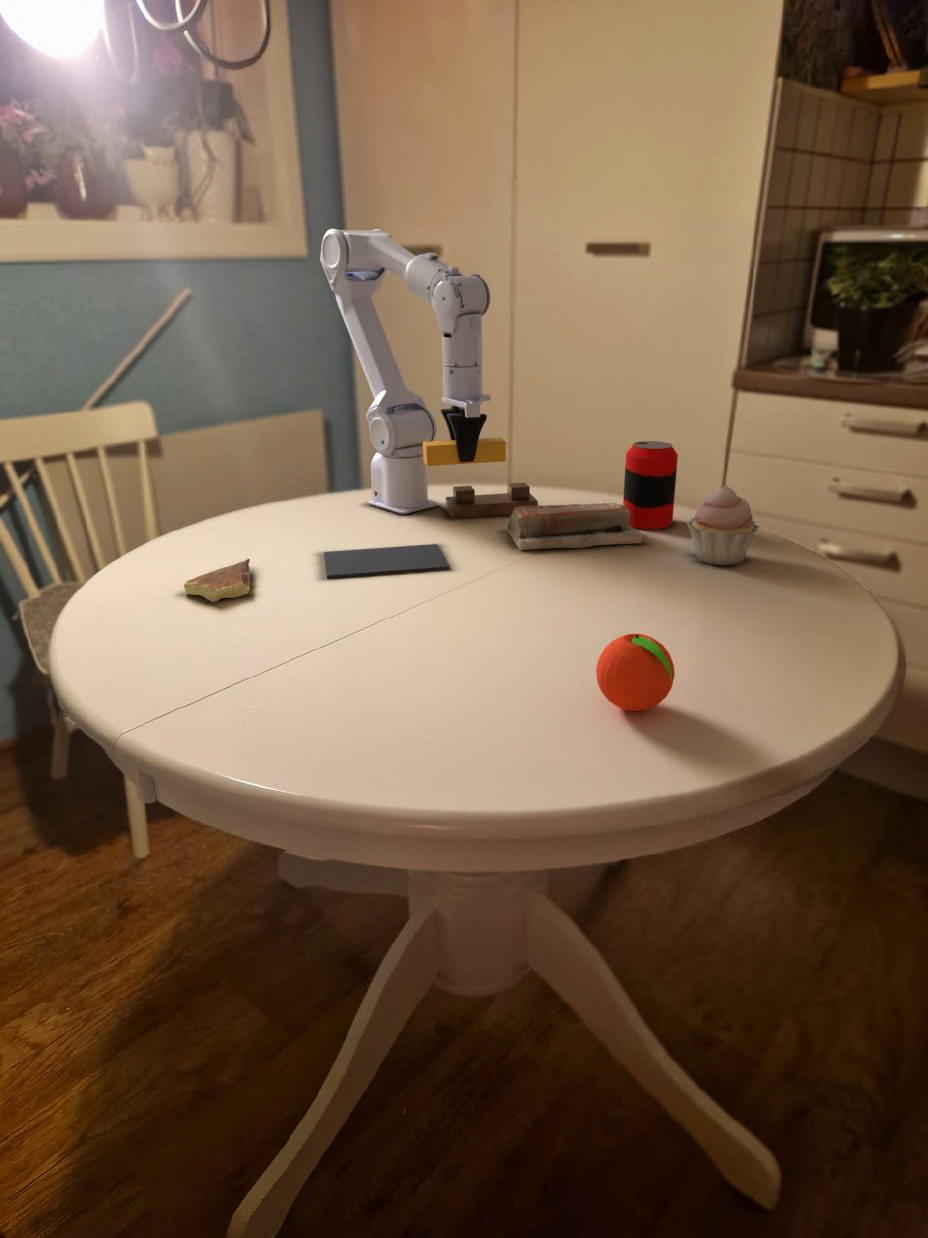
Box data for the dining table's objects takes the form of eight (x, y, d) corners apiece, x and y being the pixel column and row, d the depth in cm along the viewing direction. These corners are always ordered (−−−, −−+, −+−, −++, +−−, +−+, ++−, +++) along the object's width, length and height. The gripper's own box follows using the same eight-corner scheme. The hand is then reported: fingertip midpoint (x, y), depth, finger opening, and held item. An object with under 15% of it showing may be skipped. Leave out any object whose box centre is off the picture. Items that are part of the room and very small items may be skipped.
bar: (426, 466, 127) (426, 445, 126) (423, 461, 130) (422, 441, 129) (505, 461, 129) (505, 441, 128) (500, 456, 132) (500, 437, 131)
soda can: (640, 513, 138) (644, 437, 133) (681, 522, 133) (688, 444, 128) (612, 523, 133) (616, 445, 128) (654, 533, 128) (660, 452, 123)
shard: (250, 569, 115) (248, 556, 115) (290, 580, 111) (288, 566, 111) (182, 593, 107) (180, 579, 107) (223, 606, 103) (221, 592, 103)
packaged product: (519, 518, 118) (505, 500, 128) (518, 552, 120) (505, 532, 129) (645, 511, 121) (622, 494, 130) (643, 544, 123) (620, 525, 132)
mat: (326, 578, 112) (326, 575, 112) (324, 554, 121) (323, 551, 121) (448, 569, 114) (448, 566, 114) (437, 546, 123) (437, 543, 123)
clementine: (696, 716, 77) (704, 643, 74) (639, 738, 74) (644, 663, 71) (634, 682, 83) (639, 614, 81) (578, 701, 80) (581, 631, 77)
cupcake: (753, 550, 120) (762, 479, 116) (756, 572, 111) (765, 496, 108) (684, 545, 122) (690, 475, 118) (682, 567, 114) (688, 492, 110)
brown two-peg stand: (452, 518, 136) (451, 493, 135) (445, 508, 142) (445, 484, 140) (537, 512, 139) (538, 488, 137) (528, 503, 144) (528, 479, 143)
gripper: (501, 369, 119) (501, 467, 124) (478, 359, 132) (480, 448, 137) (450, 371, 117) (453, 470, 123) (433, 360, 131) (436, 450, 136)
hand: (464, 458), depth 130 cm, fingers closed on bar, 3 cm apart
